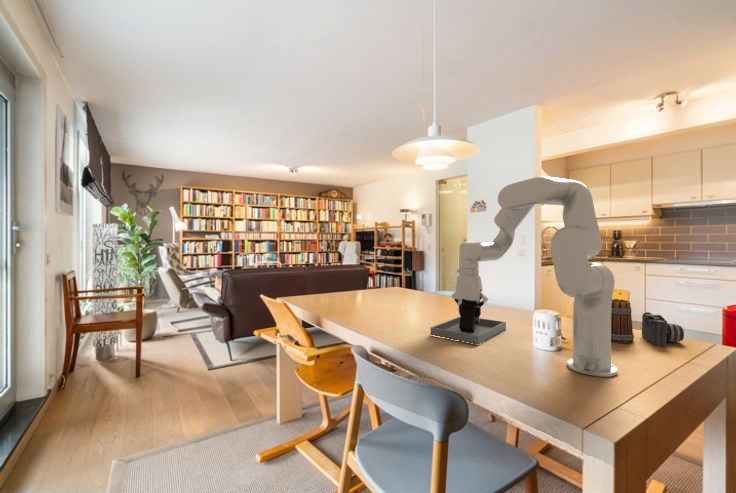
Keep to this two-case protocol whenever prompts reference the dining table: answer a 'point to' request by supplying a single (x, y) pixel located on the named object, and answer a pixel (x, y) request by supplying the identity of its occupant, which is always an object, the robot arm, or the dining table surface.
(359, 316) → the dining table surface
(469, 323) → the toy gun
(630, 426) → the dining table surface
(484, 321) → the tray
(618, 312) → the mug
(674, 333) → the camera
